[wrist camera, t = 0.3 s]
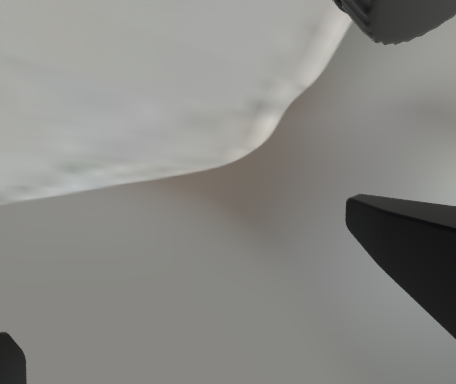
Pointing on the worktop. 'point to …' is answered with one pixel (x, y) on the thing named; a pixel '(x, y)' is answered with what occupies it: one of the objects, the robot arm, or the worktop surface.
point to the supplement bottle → (397, 17)
